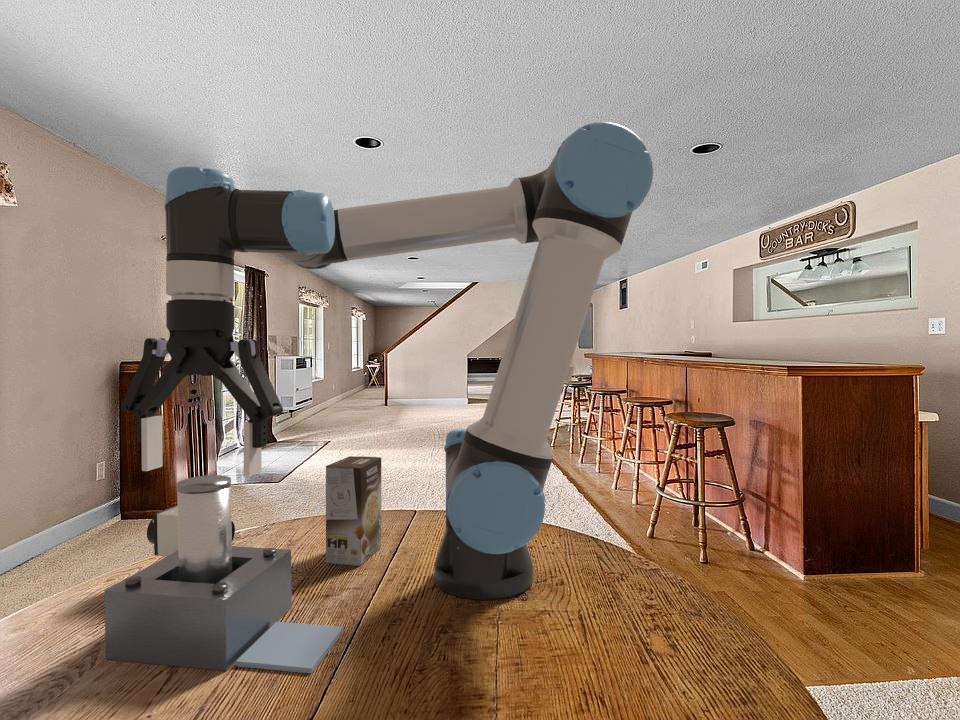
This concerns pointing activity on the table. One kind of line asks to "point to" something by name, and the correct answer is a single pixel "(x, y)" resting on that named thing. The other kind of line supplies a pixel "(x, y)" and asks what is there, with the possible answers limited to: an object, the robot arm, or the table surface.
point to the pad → (291, 647)
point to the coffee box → (353, 510)
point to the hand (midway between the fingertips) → (201, 471)
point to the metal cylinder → (204, 529)
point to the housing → (197, 611)
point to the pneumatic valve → (166, 531)
